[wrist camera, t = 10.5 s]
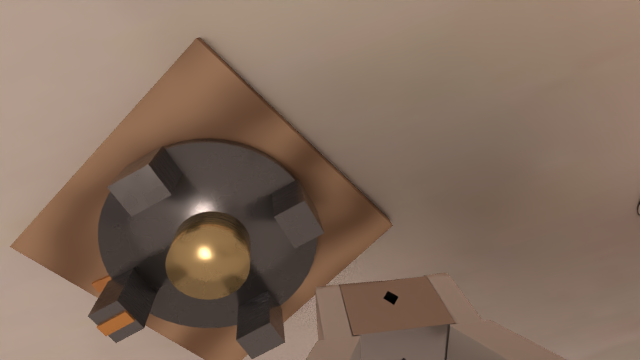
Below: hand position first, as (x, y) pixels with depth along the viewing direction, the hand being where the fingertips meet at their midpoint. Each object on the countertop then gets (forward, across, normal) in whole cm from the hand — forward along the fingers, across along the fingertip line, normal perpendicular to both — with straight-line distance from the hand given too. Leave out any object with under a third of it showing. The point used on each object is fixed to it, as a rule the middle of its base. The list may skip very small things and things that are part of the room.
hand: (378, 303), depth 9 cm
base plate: (+24, +8, +10) cm, 27 cm away
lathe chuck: (+22, +8, +10) cm, 26 cm away
